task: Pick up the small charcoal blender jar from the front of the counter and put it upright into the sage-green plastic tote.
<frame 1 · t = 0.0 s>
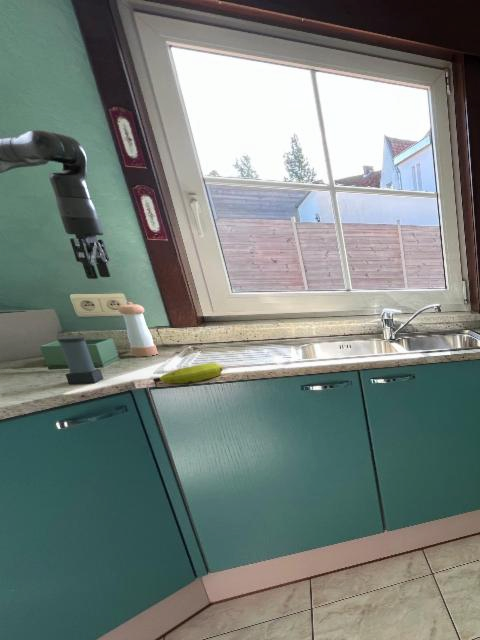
hand: (99, 277, 142), 29 cm above the worktop, tool pointing down, fingers open, 8 cm apart
banana: (192, 378, 154), on the worktop
tote: (85, 364, 166), on the worktop
salt shaker: (145, 355, 183), on the worktop
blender: (86, 381, 146), on the worktop
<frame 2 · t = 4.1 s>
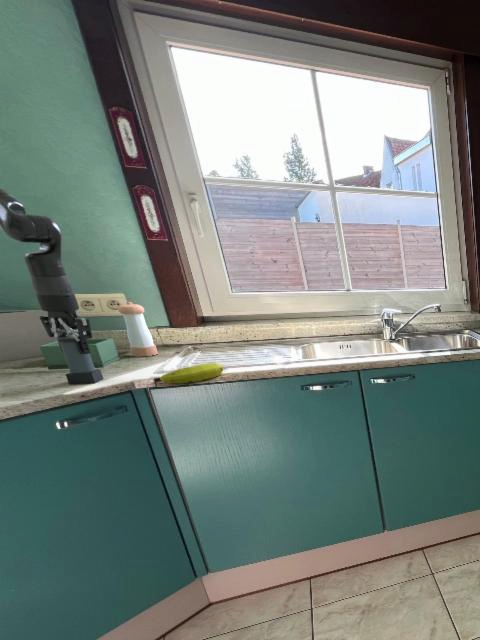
hand: (76, 352, 143), 9 cm above the worktop, tool pointing down, fingers closed on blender, 5 cm apart
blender: (86, 381, 146), on the worktop, touching gripper
everything else where it was.
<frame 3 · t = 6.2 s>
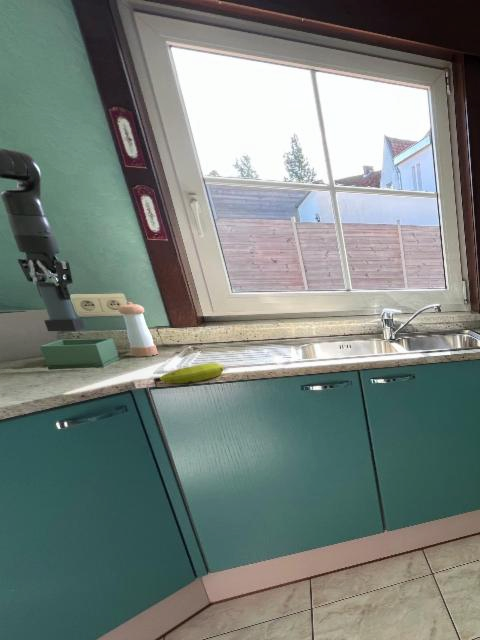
hand: (56, 298, 138), 24 cm above the worktop, tool pointing down, fingers closed on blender, 5 cm apart
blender: (66, 329, 141), point 15 cm above the worktop, touching gripper
everything else where it was.
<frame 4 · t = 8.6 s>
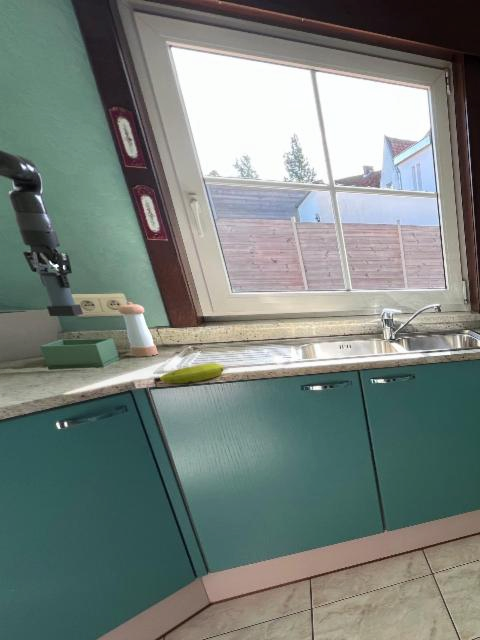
hand: (57, 287, 155), 25 cm above the worktop, tool pointing down, fingers closed on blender, 5 cm apart
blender: (67, 315, 158), point 17 cm above the worktop, touching gripper
everything else where it was.
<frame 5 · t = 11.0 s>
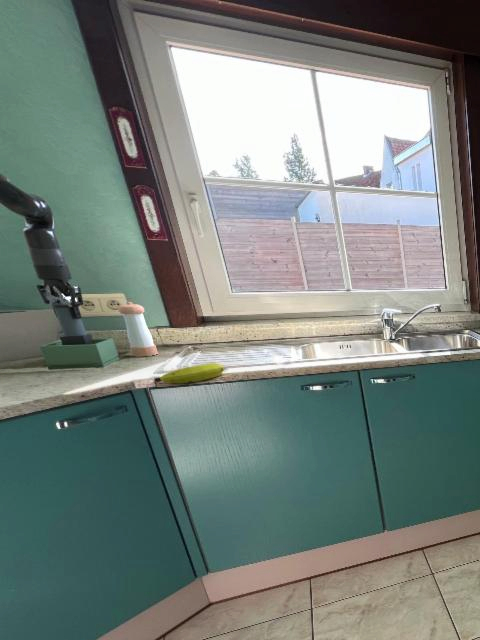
hand: (69, 318, 161), 15 cm above the worktop, tool pointing down, fingers closed on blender, 5 cm apart
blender: (78, 344, 164), point 7 cm above the worktop, touching gripper
everything else where it was.
when the fingers open (9 cm above the worktop, at t = 13.1 s): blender stays where it is, resting on tote.
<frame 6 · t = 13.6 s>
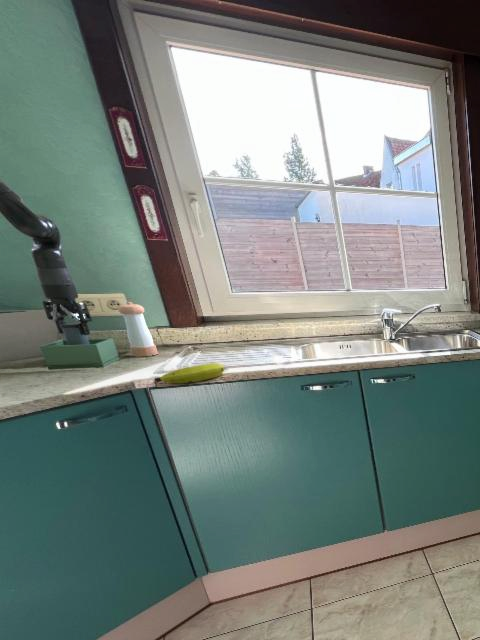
hand: (75, 334, 163), 10 cm above the worktop, tool pointing down, fingers open, 8 cm apart
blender: (85, 362, 166), resting on tote
everything else where it was.
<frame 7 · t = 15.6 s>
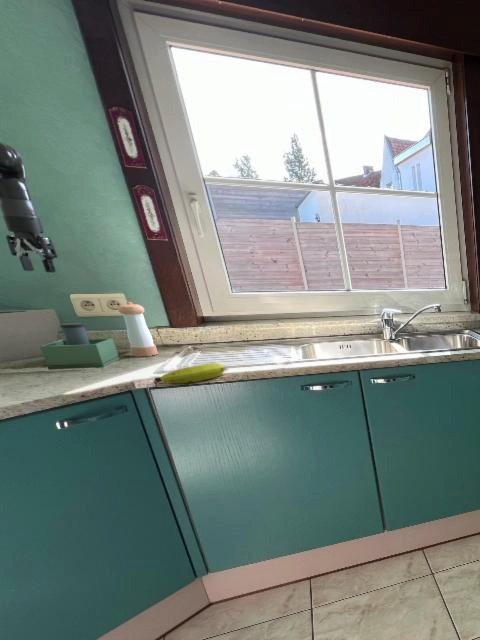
hand: (40, 271, 156), 30 cm above the worktop, tool pointing down, fingers open, 8 cm apart
nothing on the worktop moved.
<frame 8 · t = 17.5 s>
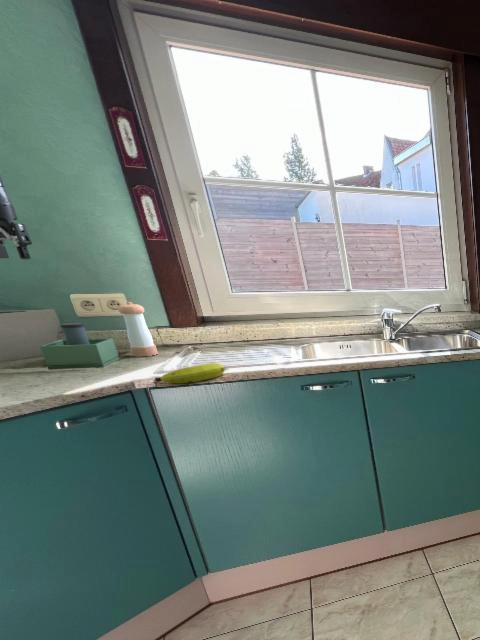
hand: (15, 258, 156), 33 cm above the worktop, tool pointing down, fingers open, 8 cm apart
nothing on the worktop moved.
at the end: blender inside the target area in the tote (0.0 cm from its centre), point 0.5 cm above the tote's base; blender tilted 0°; the gripper is holding nothing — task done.
